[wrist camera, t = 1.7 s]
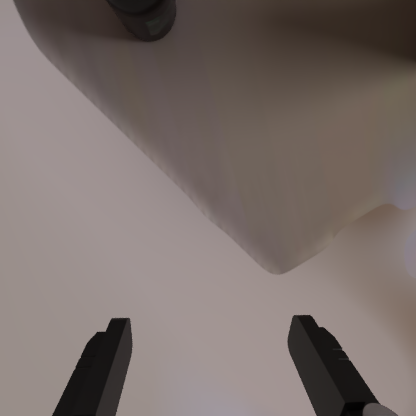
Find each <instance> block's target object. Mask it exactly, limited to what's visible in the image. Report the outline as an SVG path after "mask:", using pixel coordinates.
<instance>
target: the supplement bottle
mask: <svg viewBox="0 0 416 416" xmlns="http://www.w3.org/2000/svg"><path fill="white" fill-rule="evenodd" d="M106 1H107V2H108V4H109V5H110V7H111V8H112V9H113V11H114V12H115V13H116V15H117V16H118V18H119V19H120V20H121V22H122V23H123V25H124V26H125V27H126V28H127V29H128V31H129V32H130V33H131V34H133V35H134V36H135V37H137V38H139V39H141V40H144V41H156V40H159V39H161V38H163V37H164V36H165V35H167V34H168V32H169V31H170V30H171V28H172V26H173V24H174V21H175V16H176V0H106Z"/></svg>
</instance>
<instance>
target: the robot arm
mask: <svg viewBox="0 0 416 416" xmlns="http://www.w3.org/2000/svg"><path fill="white" fill-rule="evenodd" d="M288 348H289V352H290V355H291V357H292V359H293V361H294V364H295V366H296V369H297V371H298V373H299V376H300V378H301V380H302V382H303V385H304V387H305V390H306V392H307V394H308V397H309V399H310V401H311V404H312V406H313V408H314V411H315V413H316V415H317V416H398V415H397V414H396V413H394V412H393V411H392V410H390V409H389V408H387V407H385V406H383V405H381V404H380V403H379V402H378V401H377V399H376V398H375V396H374V395H373V393H372V392H371V391H370V389H369V387H368V386H367V384H366V383H365V381H364V380H363V378H362V377H361V376H360V374H359V373H358V371H357V370H356V368H355V367H354V365H353V364H352V362H351V361H349V358H348V356H347V355H346V353H345V352H344V351H342V347H341V346H340V344H339V343H338V341H337V340H336V338H335V337H334V336H333V335H332V334H331V333H329V332H328V331H327V330H326V329H325V328H323V327H318V325H317V323H316V322H315V320H314V319H313V317H312V316H310V315H294V316H293V318H292V322H291V326H290V331H289V335H288ZM131 353H132V333H131V324H130V318H112V319H111V321H110V323H109V325H108V328H107V330H106V332H97V333H96V334H95V335H94V336H93V337H92V338H91V339H90V341H89V342H88V343H87V345H86V347H85V349H84V351H83V353H82V355H81V358H80V359H79V361H78V363H77V365H76V369H75V370H74V371H73V374H72V376H71V378H70V380H69V382H68V384H67V386H66V388H65V390H64V392H63V395H62V396H61V399H60V401H59V403H58V405H57V407H56V409H55V411H54V413H53V415H52V416H115V415H116V412H117V407H118V404H119V400H120V396H121V393H122V389H123V385H124V381H125V377H126V374H127V369H128V366H129V362H130V358H131Z"/></svg>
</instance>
